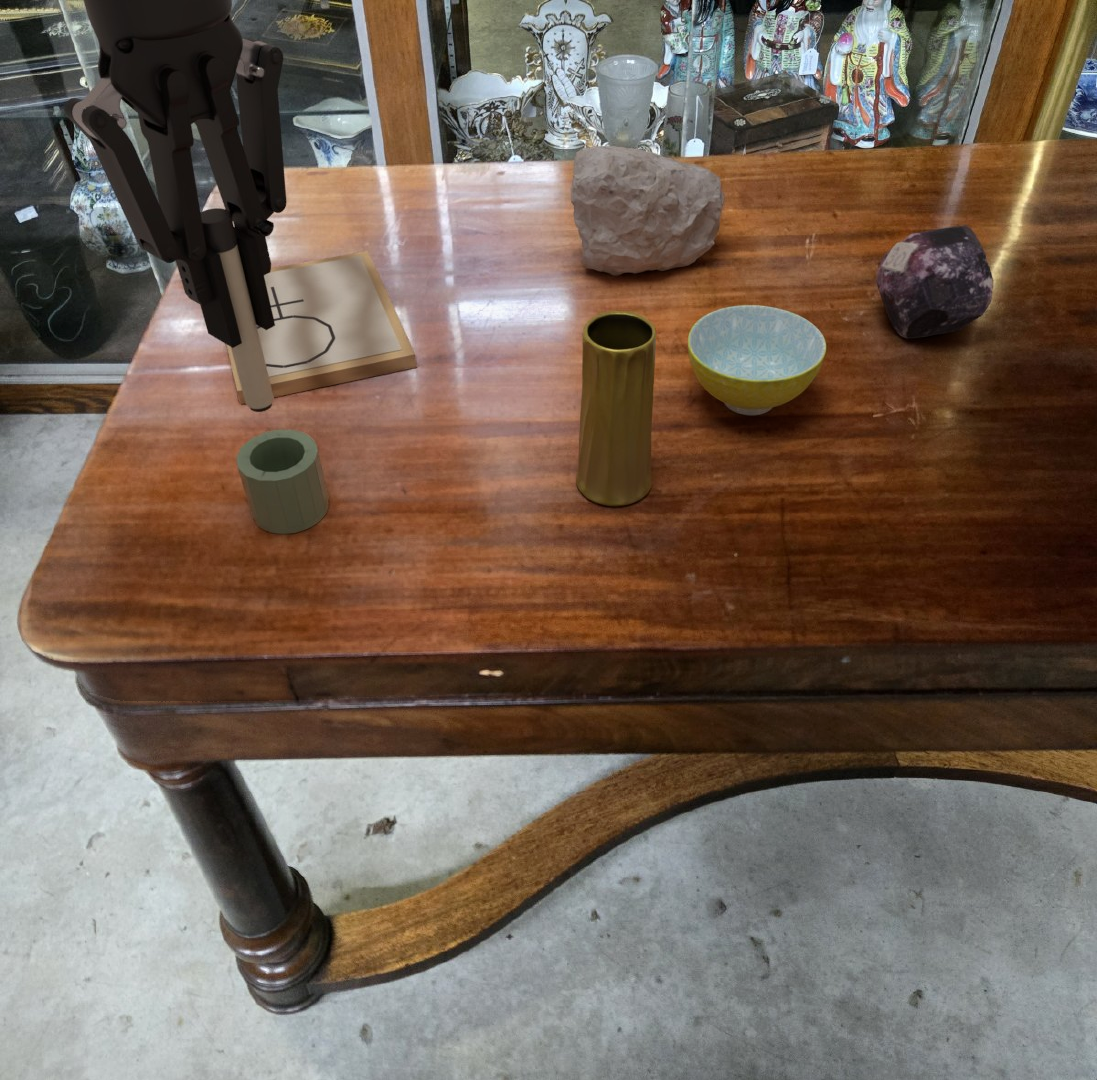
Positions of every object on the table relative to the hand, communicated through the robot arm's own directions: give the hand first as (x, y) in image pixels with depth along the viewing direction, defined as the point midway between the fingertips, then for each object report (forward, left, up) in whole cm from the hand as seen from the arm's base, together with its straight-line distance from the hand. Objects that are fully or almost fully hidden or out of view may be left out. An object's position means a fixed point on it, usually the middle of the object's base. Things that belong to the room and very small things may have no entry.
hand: (241, 328), depth 70 cm
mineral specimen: (+61, +5, -17) cm, 64 cm away
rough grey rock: (+41, +25, -17) cm, 51 cm away
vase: (+25, -6, -17) cm, 31 cm away
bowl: (+40, 0, -17) cm, 44 cm away
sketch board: (+6, +25, -17) cm, 31 cm away
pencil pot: (0, 0, -17) cm, 17 cm away
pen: (0, 0, -6) cm, 6 cm away
